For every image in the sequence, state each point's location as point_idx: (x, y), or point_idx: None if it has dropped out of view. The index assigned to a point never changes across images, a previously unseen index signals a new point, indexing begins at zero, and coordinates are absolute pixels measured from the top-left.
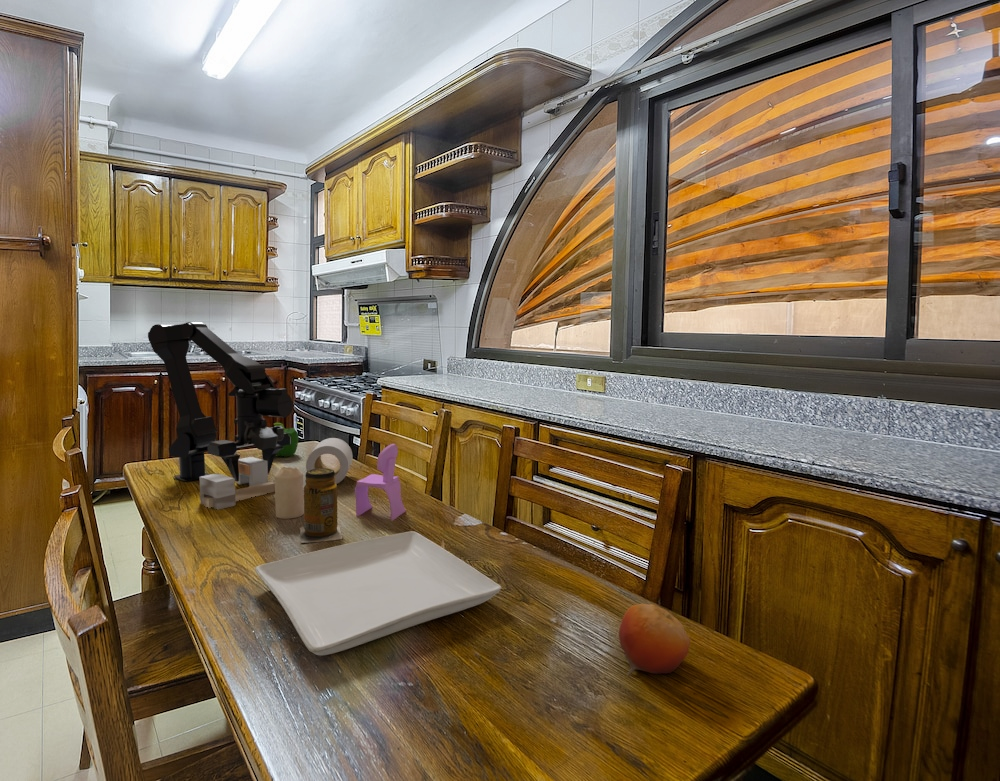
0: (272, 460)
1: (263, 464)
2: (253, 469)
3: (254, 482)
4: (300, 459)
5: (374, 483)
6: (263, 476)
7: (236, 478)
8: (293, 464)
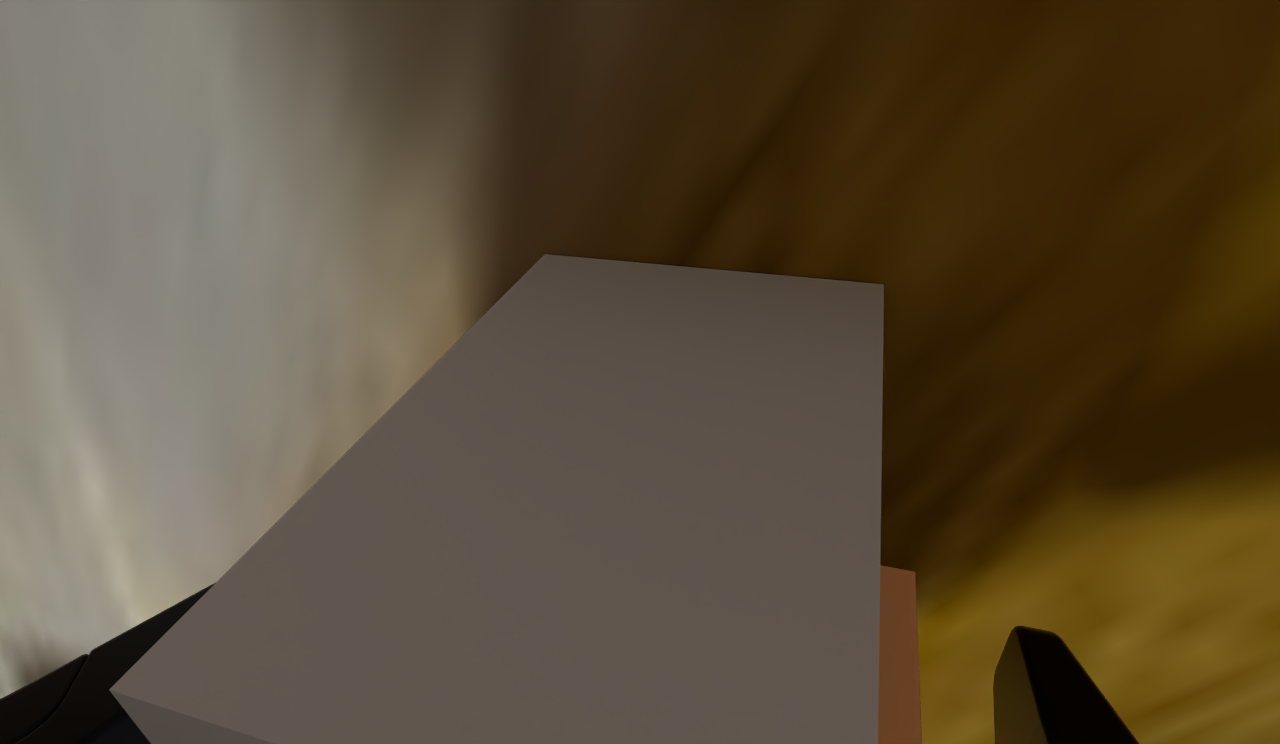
0: (66, 685)
1: (353, 629)
2: (824, 625)
3: (832, 343)
4: (21, 665)
5: None
6: (560, 364)
7: (1103, 697)
8: (77, 629)
